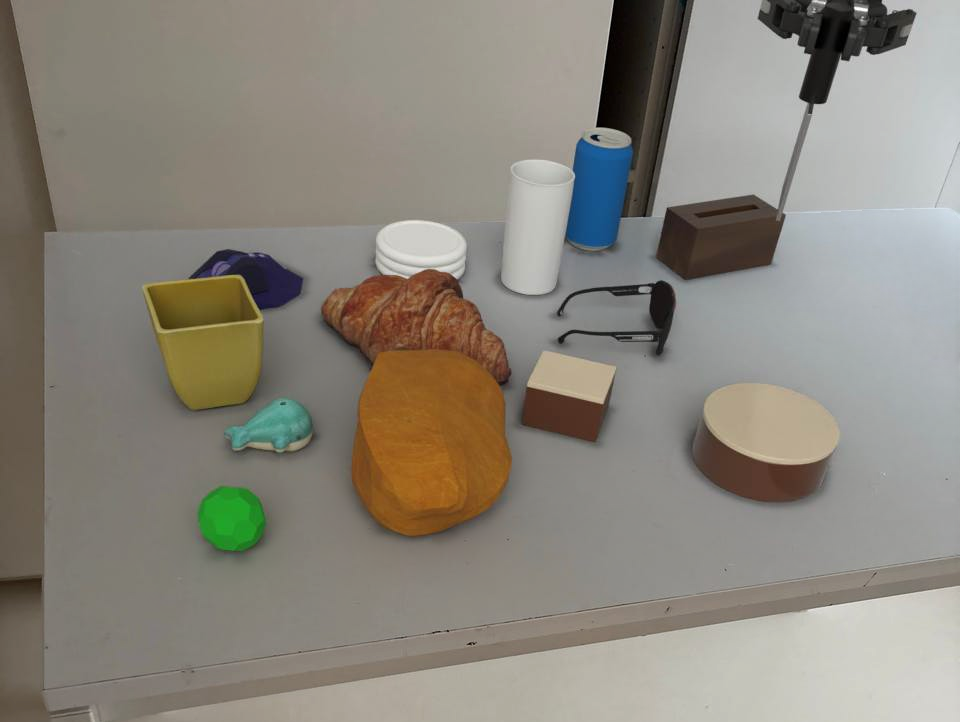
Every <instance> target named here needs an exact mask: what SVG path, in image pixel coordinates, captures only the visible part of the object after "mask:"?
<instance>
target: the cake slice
mask: <svg viewBox="0 0 960 722" xmlns="http://www.w3.org/2000/svg"><path fill="white" fill-rule="evenodd" d="M617 368H618V367H617V366H614V365H610V364H606V363H602V362H597V361H593V360H589V359H583V358H580V357H575V356H571V355H566V354H562V353H557V352H554V351H549V350H545V349H544V350H543V351H542V352H541V354H540V356H539V358H538V361H536V365H535V366H534V369H533V370H532V372H531V374H530V376H529V378H528V380H527V383H526V389H525V397H524V403H523V404H524V405H523V413H522V418H521V419H522V420H521V425H522V426H526V427H531V428H535V429H539V430H543V431H547V432H550V433H551V432H552V433H555V434H559V435H564V436H567V437H572V438H576V439H580V440H585V441H589V442H593V443H596V442H597V439H598V437H599V434H600V432H601V429H602V426H603V423H604V421H605V418H606V416H607V413H608V410H609V407H610V402H611V397H612V391H613V387H614V382H615V378H616V371H617Z"/></svg>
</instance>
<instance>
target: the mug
mask: <svg viewBox="0 0 960 722" xmlns="http://www.w3.org/2000/svg"><path fill="white" fill-rule="evenodd" d="M509 169H510V170H509V179H508V189H507V201H506V212H505V225H504V236H503V247H502V257H501V258H502V260H501V272H500V273H501V274H500V280H501V283H502V284H503V285H504V287H506V288H507V289H508V290H510V291H512V292H515V293H519V294H522V295H528V296H540V295H541V296H542V295H545V294H548V293H551V292H553V291H554V290H555V289H556V287H557V284H558V278H559V272H560V267H561V261H562V256H563V249H564V245H565V239H566V237H565V234H566V228H567V222H568V216H569V211H570V205H571V199H572V193H573V186H574V179H575V174H574V172H573V169H572V168H570V167H568V166H567V165H564V164H562V163H559V162H557V161H552V160H547V159H538V158H537V159H536V158H534V159H533V158H532V159H531V158H530V159H524V160H523V159H522V160H519V161H516V162H514V163H513V164H512V165H511V166H510V168H509Z"/></svg>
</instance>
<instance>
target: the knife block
mask: <svg viewBox="0 0 960 722" xmlns="http://www.w3.org/2000/svg"><path fill="white" fill-rule="evenodd" d="M777 211H778V208H776V207H775V206H773V205H771V204H770V203H768V202H767V201H765V200H764V199H762V198H760V197H759V196H757V195H755V194H747V195H740V196H733V197H728V198H726V197H725V198H721V199H714V200H713V199H712V200H708V201H701V202H700V201H699V202H694V203H687V204H679V205H673V206H667V207H666V209H665V214H664V217H663V222H662V227H661V231H660V232H661V233H660V236H659V242H658V246H657V250H656V254H655V258H656V259H657V260H658V261H660V262H661V263H662V264H663V265H665V266H666V267H667V268H669V269H670V270H671V271H673V272H674V273H675V274H676V275H678V276H679V277H680V278H682V279H683V280H685V281H689V280H693V279H699V278H704V277H709V276H715V275H721V274H727V273H732V272H736V271H742V270H748V269H754V268H757V267H762V266H768V265H769V266H770V265H772V263H773V259H774V255H775V253H776V249H777V246H778V242H779V239H780V236H781V233H782V230H783V226H784V224H785V220H786V216H787V214H785V213H784V212H783V213H782V216H781V219H780V221H777V220H776V216H777Z"/></svg>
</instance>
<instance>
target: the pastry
mask: <svg viewBox="0 0 960 722" xmlns="http://www.w3.org/2000/svg"><path fill="white" fill-rule="evenodd" d="M459 282H460V281H459V279H458V280H457V279H456V278H455V277H454V276H452V275H451V274H449V273H447V272H440V271H438V270H435V269H426V270H423V271H421V272H419V273H416V274H414V275H412V276H411V277H409V278H408V279H406V278H404V277H401V276H398V275H383V274H376V275H372V276H370V277H368V278H366V279H364V280H363V281H362V282H361V283H359V284H357V285H354V286H353V287H339V288H334V289H333V290H332V291H331V292H330V294H329V295H328V296H327V298H326V299H325V300H324V301H323V303H322V304H321V307H320V313H321V316H322V318H323V319H324V320H325V323H326V324H327V325H328V326H330V328H332V329H334V331H335V332H336V333H338V334H339V335H341V337H342V338H343V339H344V341H345V342H347V343H348V344H349V345H350V346H352V347H355V348H358V349H360V353H361V354H362V355H364V356H365V357H366V358H367V360H369V362H370V363H371V364H372V366H373V365H374V363H375V360H376V358H377V356H378V354H379V353H382V352H387V351H393V350H422V349H440V350H449V351H457V352H459V353H461V354H463V355H465V356H467V357H469V358H471V359H473V360H476V361H477V362H478V363H479V364H480V365H482V366H483V367H484V368H485V369H486V370H487V371H488V372H489V373H490V374H492V376H493V377H494V379H495V380H496V381H497V383H498V384H499V385H500V386H501V385H504V384H506V383H508V382H509V380H510V377H511V376H512V369H511V368H510V365H509V359H508V356H507V351H506V348H505V342H504V341H503V340H502V338H500V336H498V335H497V334H494V333H493V332H492V331H491V330H489V329H488V328H486V326H485V323H484V320H483V318H482V314H481V312H480V310H479V308H478V307H477V306H476V304H475V303H474V302H472V301H470V300H469V299H466V298H464V293H463V290H462V286H461V284H460V283H459Z"/></svg>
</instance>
